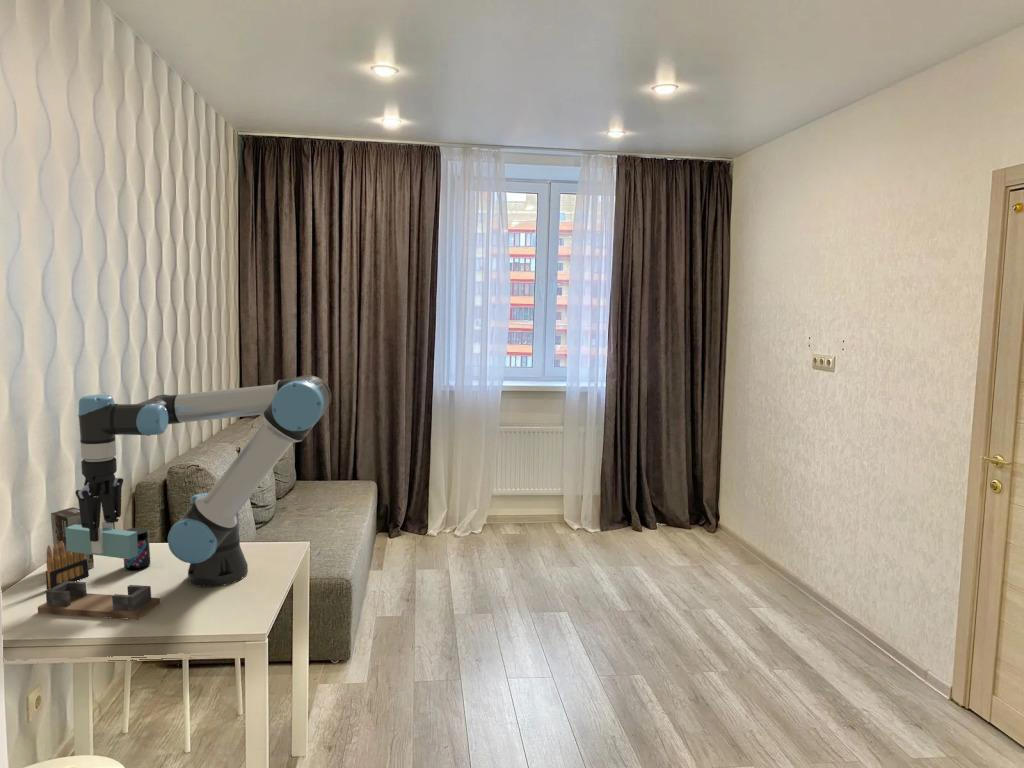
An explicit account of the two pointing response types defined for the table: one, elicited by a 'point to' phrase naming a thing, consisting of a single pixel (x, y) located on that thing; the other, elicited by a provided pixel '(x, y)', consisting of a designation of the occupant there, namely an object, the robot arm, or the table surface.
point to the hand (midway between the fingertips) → (103, 550)
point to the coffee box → (63, 521)
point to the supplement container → (139, 551)
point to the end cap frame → (98, 602)
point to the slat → (113, 542)
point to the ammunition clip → (64, 566)
